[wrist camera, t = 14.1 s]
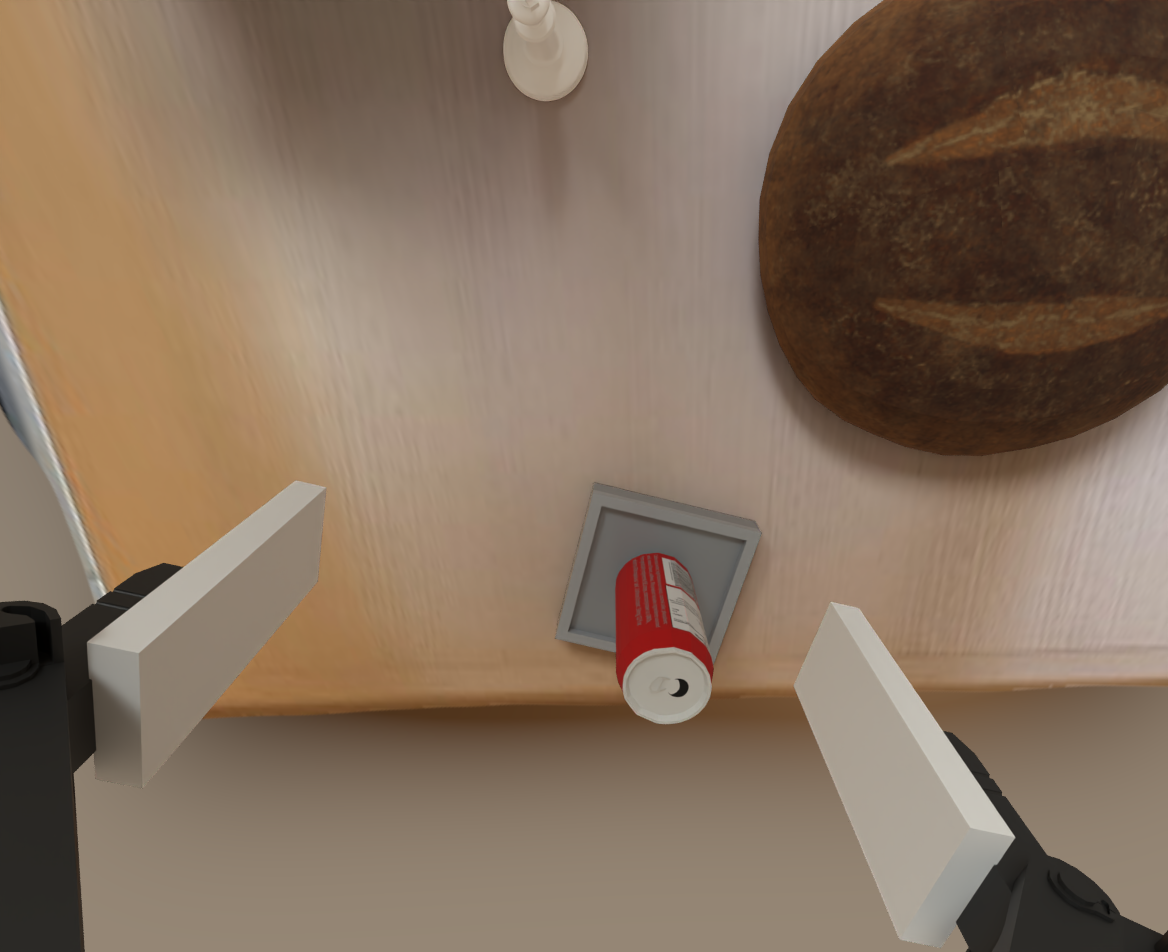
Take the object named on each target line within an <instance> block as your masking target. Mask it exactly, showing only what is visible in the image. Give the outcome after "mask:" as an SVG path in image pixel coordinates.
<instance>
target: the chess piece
mask: <svg viewBox="0 0 1168 952" xmlns="http://www.w3.org/2000/svg"><path fill="white" fill-rule="evenodd" d="M507 5H508V8H509V11H510V13H511V14H512V16H513V17H512V19H511V20H510V22H509V24H508V26H507V29H506V32H505V36H504V42H503V56H504V63H505V67H506V70H507V73H508V75H509V77H510V79H511V81H512V82H513V84H514V85H515V86H516V87H517V88H518V89H519V90H520V91H521V92H522V93H523V94H525V95H526V96H528V97H530V98H532V99H535V100H539V101H553V100H557V99H560V98H562V97H564V96H566V95H567V94H569V93H570V92H571V91H572V90H573V89H574V88H575V87H576V86H577V85H578V83H579V82H580V80H581V79H582V77H583V74H584V72H585V69H586V66H587V60H588V44H587V39H586V35H585V32H584V30H583V27H582V25H581V24H580V22H579V20H578V19H577V17H576V16H575V15H574V14H573V13H572V12H571V11H570V10H569V9H568V8H567V7H565V6H564V5H562V4H560V3H558V2H555V1H551V0H507Z"/></svg>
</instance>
